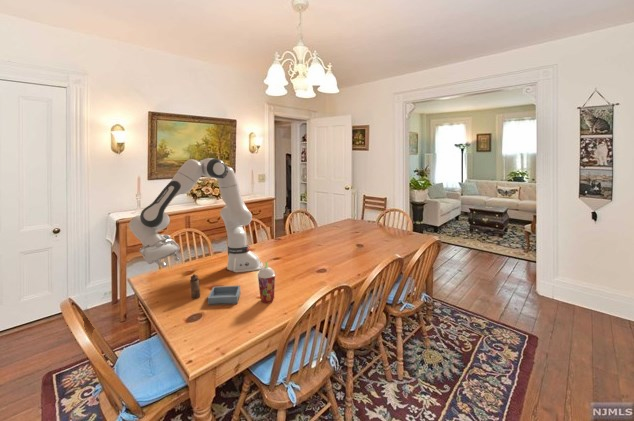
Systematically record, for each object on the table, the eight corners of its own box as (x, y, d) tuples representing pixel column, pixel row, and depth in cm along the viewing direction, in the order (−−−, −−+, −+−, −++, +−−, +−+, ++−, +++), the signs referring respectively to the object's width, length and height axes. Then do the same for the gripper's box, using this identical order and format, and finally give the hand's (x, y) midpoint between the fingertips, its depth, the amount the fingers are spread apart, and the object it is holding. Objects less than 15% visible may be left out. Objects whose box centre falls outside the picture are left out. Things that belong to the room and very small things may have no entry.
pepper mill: (200, 295, 160) (199, 272, 158) (198, 298, 156) (197, 275, 154) (192, 295, 160) (190, 273, 158) (190, 299, 156) (188, 276, 154)
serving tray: (240, 292, 163) (240, 285, 163) (237, 303, 151) (237, 296, 150) (213, 293, 162) (213, 286, 161) (208, 305, 149) (207, 298, 149)
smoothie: (276, 296, 159) (275, 258, 155) (275, 304, 150) (274, 264, 147) (260, 296, 158) (258, 259, 155) (257, 304, 150) (256, 265, 146)
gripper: (141, 244, 148) (160, 266, 147) (171, 234, 168) (188, 253, 167) (134, 253, 150) (153, 274, 149) (165, 241, 170) (182, 260, 169)
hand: (172, 263), depth 158 cm, fingers open, 8 cm apart
